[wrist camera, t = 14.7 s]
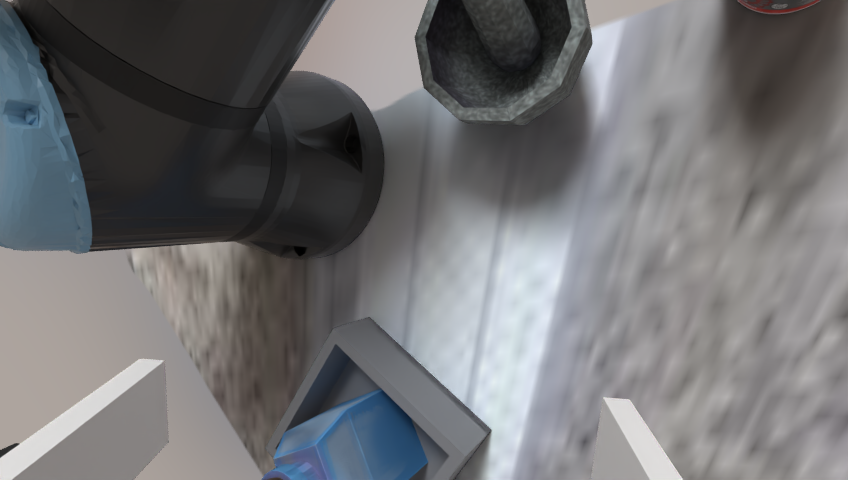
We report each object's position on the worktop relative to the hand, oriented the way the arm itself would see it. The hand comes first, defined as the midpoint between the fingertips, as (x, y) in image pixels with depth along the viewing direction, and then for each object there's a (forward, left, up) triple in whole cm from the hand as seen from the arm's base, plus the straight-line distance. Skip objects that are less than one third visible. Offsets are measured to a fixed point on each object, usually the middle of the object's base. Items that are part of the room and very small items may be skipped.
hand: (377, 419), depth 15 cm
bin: (-5, -16, -21) cm, 27 cm away
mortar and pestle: (-11, +13, -21) cm, 27 cm away
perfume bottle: (-5, -16, -20) cm, 26 cm away
